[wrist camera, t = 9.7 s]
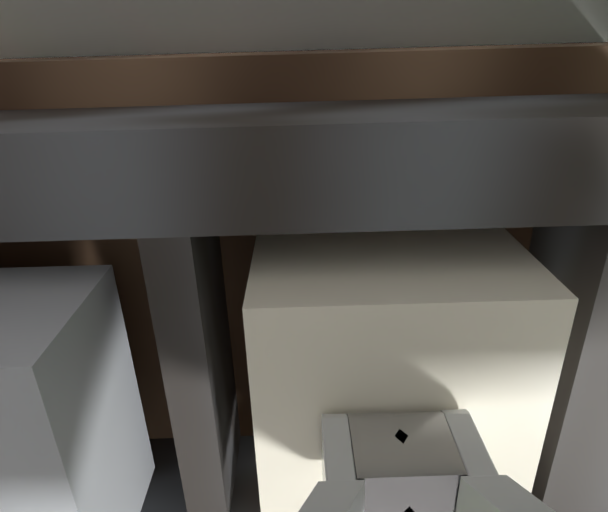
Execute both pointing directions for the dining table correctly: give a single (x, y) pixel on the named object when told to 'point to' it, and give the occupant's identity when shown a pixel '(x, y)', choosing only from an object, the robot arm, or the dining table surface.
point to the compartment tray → (304, 211)
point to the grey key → (68, 395)
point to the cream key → (399, 343)
